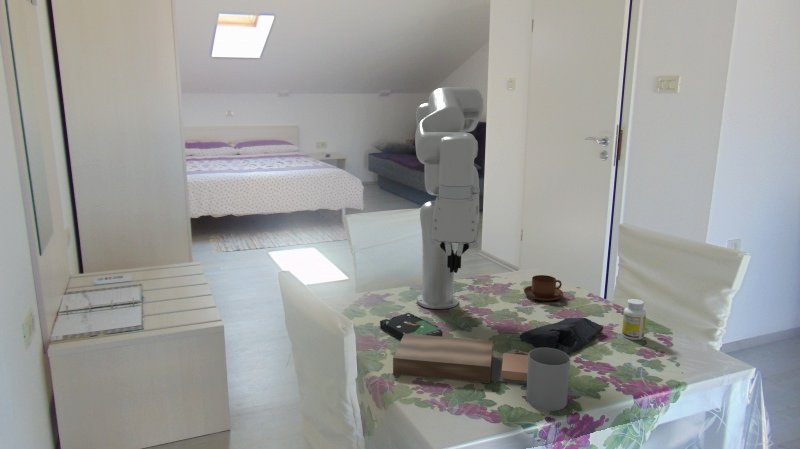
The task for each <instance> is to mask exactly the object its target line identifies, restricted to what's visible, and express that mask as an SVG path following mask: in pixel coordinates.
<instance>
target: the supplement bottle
mask: <svg viewBox="0 0 800 449" xmlns="http://www.w3.org/2000/svg"><path fill="white" fill-rule="evenodd" d="M626 306H627V307H625V308H623V315H622V316H623V319H622V327H621V328H622V330H621V334H622V337H624V338H626V339H628V340H632V341H638V340H640V341H641V340H642V339H644V337H645V328H646V317H647V313H646V310H645V309H643V308H644V306H645V302H644V300H641V299H636V298H629V299H627V302H626Z"/></svg>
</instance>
